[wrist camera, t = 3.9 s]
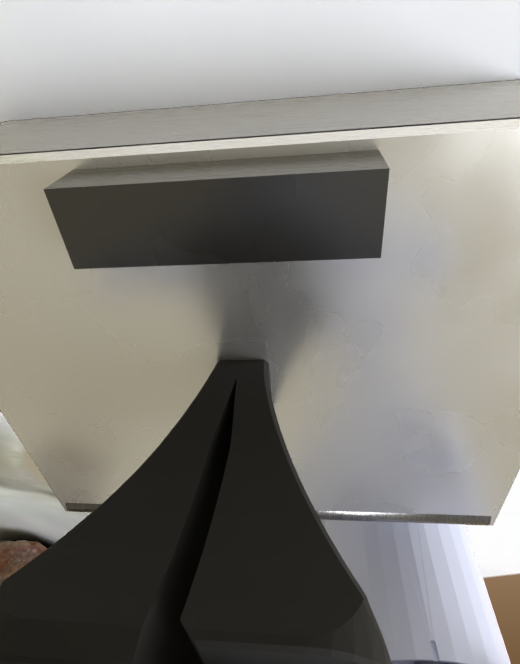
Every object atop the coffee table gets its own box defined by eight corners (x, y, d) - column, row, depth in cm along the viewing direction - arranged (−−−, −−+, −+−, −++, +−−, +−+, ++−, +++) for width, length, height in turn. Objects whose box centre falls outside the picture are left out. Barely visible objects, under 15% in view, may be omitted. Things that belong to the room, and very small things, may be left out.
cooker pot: (483, 403, 19) (530, 503, 15) (88, 402, 21) (39, 489, 17) (591, 73, 12) (743, 100, 8) (-39, 125, 14) (-178, 166, 10)
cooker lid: (482, 504, 16) (504, 563, 14) (77, 493, 17) (53, 544, 16) (649, 108, 8) (745, 132, 6) (-119, 163, 10) (-208, 193, 8)
